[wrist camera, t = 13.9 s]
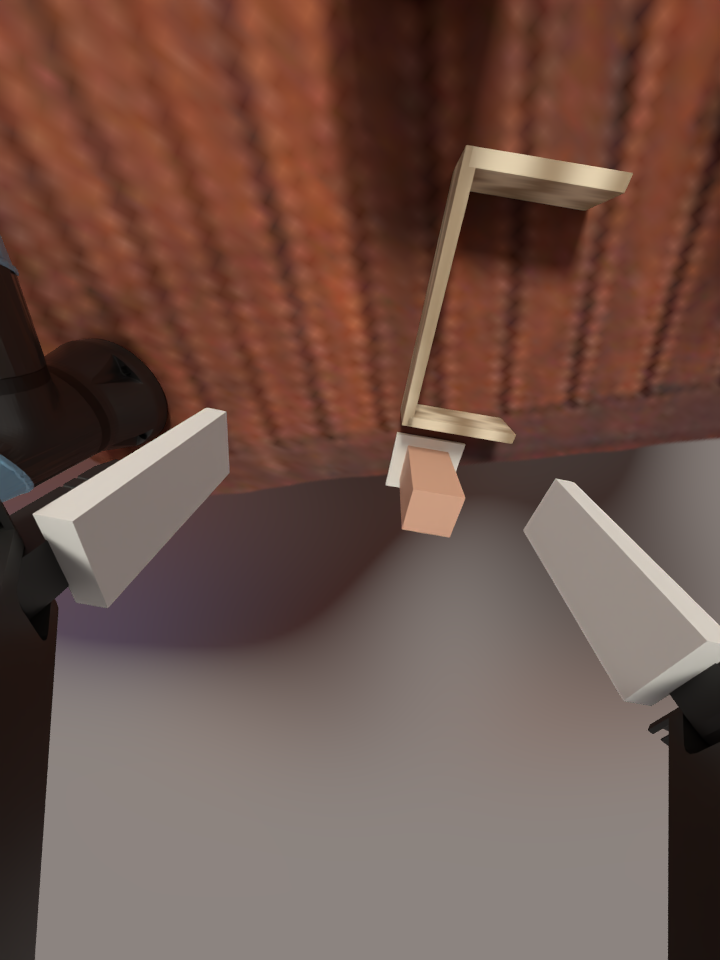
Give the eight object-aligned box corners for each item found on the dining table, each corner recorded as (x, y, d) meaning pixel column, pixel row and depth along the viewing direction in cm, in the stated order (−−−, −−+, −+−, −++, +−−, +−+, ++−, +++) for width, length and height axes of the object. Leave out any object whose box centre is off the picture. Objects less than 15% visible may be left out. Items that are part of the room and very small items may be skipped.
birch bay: (400, 409, 42) (401, 425, 37) (453, 171, 30) (466, 144, 25) (497, 426, 42) (512, 443, 37) (591, 194, 30) (633, 173, 25)
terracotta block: (407, 445, 44) (413, 489, 34) (448, 452, 44) (465, 498, 34) (399, 479, 48) (401, 529, 37) (437, 485, 48) (449, 537, 37)
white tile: (385, 483, 49) (385, 485, 48) (397, 431, 44) (397, 433, 44) (446, 493, 49) (447, 495, 48) (464, 443, 44) (465, 444, 44)
